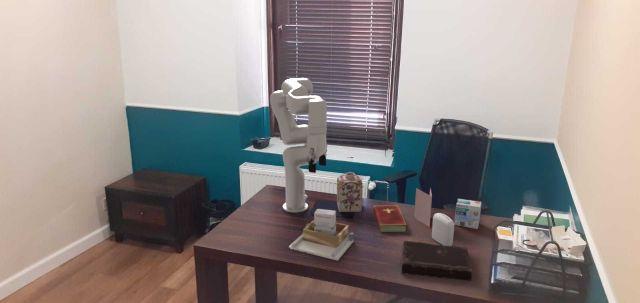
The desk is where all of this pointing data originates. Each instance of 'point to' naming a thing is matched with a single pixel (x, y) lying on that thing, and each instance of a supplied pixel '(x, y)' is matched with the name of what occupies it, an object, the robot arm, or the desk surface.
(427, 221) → the greeting card
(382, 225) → the hardcover book
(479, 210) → the light bulb box
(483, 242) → the desk surface
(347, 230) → the crate
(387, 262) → the desk surface
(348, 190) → the decorative jar
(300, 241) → the grey flat slab
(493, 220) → the desk surface
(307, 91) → the robot arm
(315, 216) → the ink box
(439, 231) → the photo printer
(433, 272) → the diary
